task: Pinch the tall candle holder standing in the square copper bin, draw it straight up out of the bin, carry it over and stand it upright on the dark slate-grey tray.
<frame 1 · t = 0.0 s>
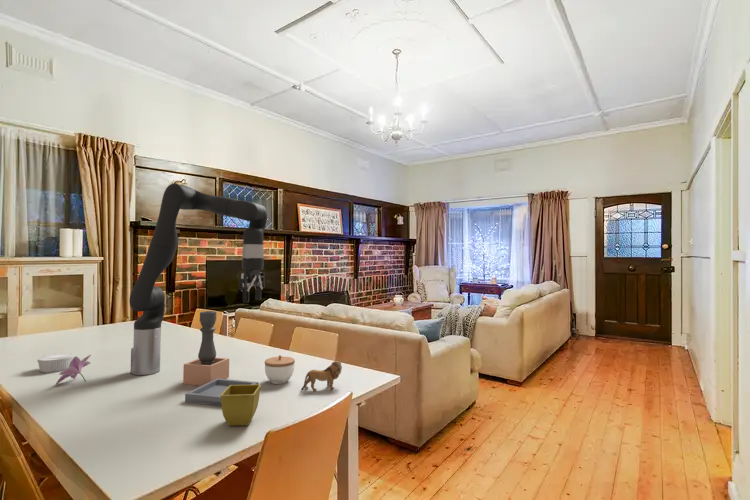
hand: (252, 301, 141), 29 cm above the table, fingers open, 8 cm apart
flower pot: (240, 423, 105), on the table
lion figurine: (322, 388, 134), on the table
lidded jar: (279, 381, 141), on the table
square copper bin: (206, 380, 141), on the table
lily: (75, 382, 138), on the table
tray: (223, 395, 126), on the table
ramekin: (55, 370, 152), on the table
candle holder: (206, 381, 141), resting in square copper bin
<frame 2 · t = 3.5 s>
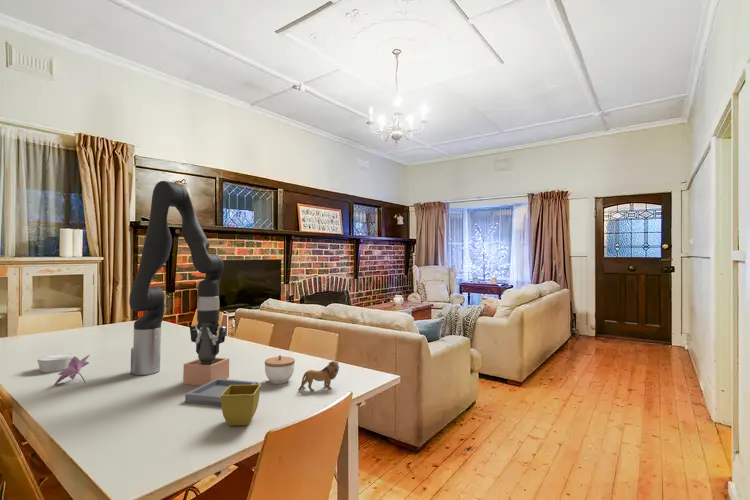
hand: (207, 354, 141), 10 cm above the table, fingers closed on candle holder, 6 cm apart
candle holder: (206, 380, 141), resting in square copper bin, touching gripper
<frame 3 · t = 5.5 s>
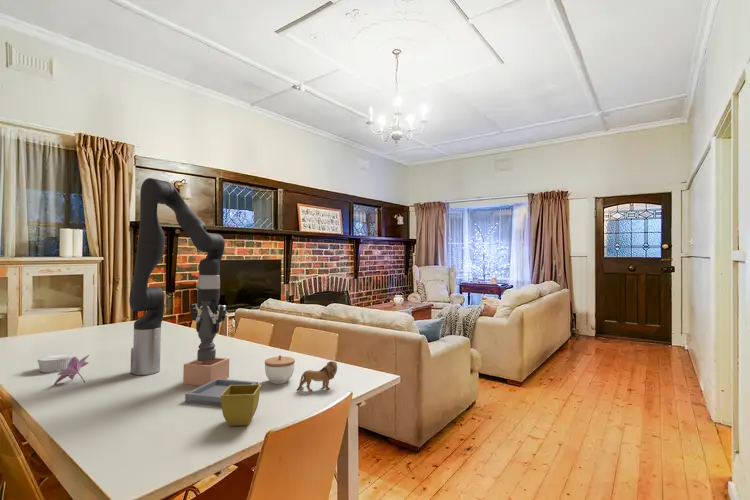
hand: (207, 332, 141), 17 cm above the table, fingers closed on candle holder, 6 cm apart
candle holder: (206, 359, 141), point 8 cm above the table, touching gripper
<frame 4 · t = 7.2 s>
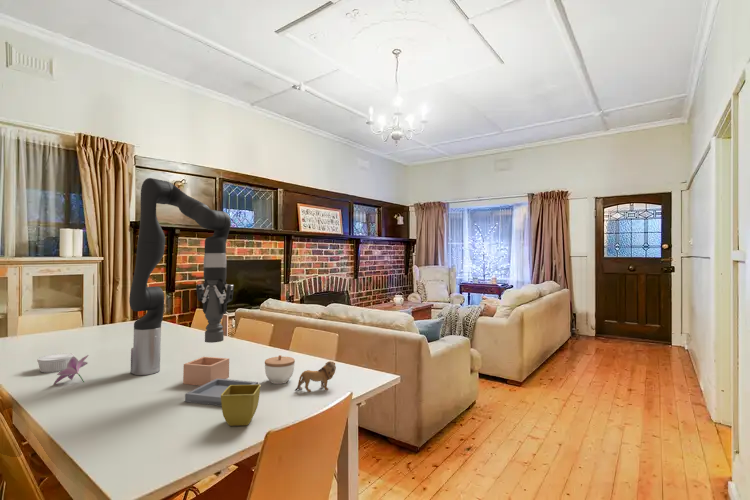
hand: (214, 313, 136), 25 cm above the table, fingers closed on candle holder, 6 cm apart
candle holder: (214, 341, 136), point 15 cm above the table, touching gripper
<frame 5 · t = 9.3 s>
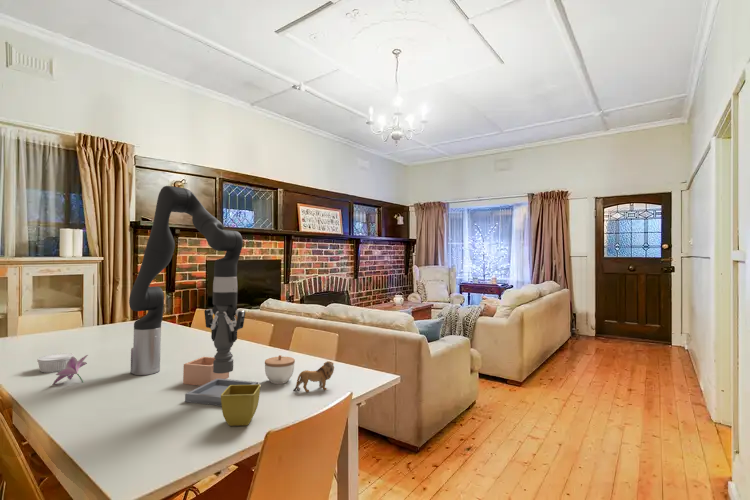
hand: (224, 341, 126), 18 cm above the table, fingers closed on candle holder, 6 cm apart
candle holder: (223, 371, 126), point 8 cm above the table, touching gripper
when the fingers open (12 cm above the table, at t = 10.9 s): candle holder drops 1 cm, resting on tray.
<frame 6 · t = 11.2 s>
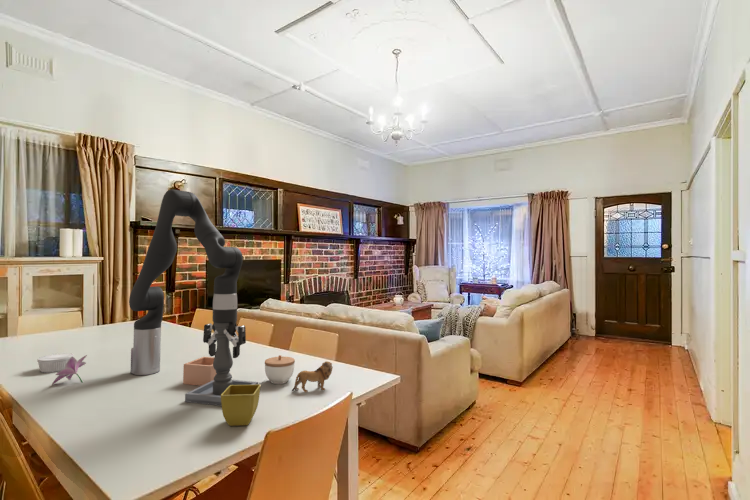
hand: (224, 356, 126), 13 cm above the table, fingers open, 8 cm apart
candle holder: (222, 392, 126), point 1 cm above the table, touching tray
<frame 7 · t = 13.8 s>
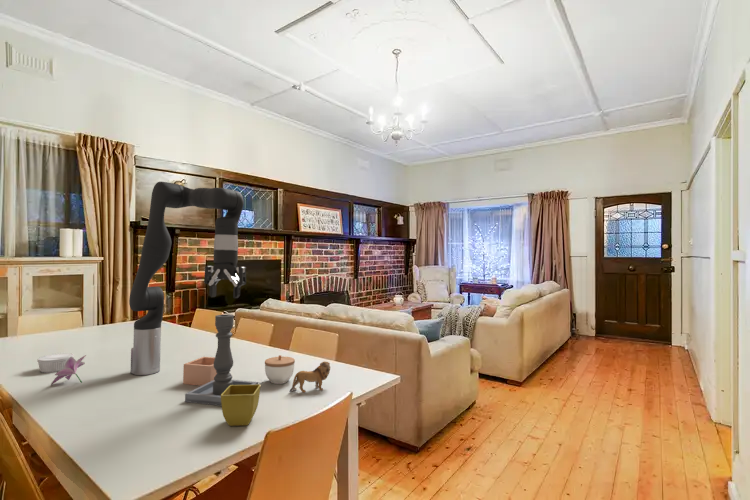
hand: (224, 297, 128), 32 cm above the table, fingers open, 8 cm apart
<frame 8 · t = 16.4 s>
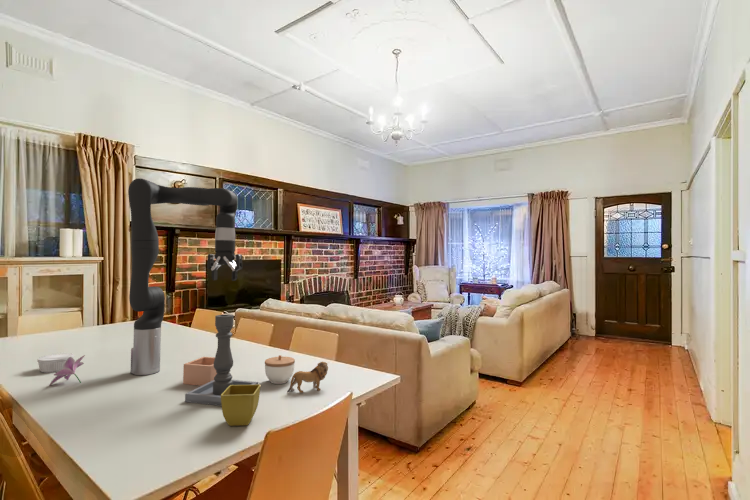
hand: (224, 280, 153), 36 cm above the table, fingers open, 8 cm apart
at the end: candle holder inside the target area on the tray (0.3 cm from its centre), point 0.8 cm above the tray's base; candle holder tilted 0°; the gripper is holding nothing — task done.
